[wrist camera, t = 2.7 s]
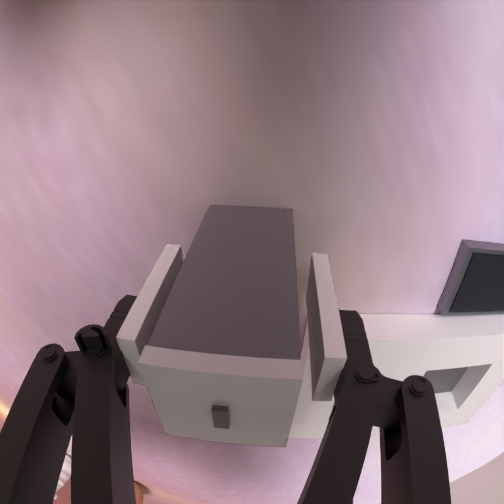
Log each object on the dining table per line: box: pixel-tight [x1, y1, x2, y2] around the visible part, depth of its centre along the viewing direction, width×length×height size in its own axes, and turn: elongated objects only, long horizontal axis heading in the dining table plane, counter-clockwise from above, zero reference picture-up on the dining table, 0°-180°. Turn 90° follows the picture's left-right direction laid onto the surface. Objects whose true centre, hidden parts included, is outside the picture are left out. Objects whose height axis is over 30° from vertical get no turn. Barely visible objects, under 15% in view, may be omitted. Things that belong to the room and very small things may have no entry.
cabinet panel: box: [288, 314, 504, 438], centre depth 23 cm, size 14×20×3 cm
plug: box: [138, 205, 303, 447], centre depth 14 cm, size 5×5×11 cm
